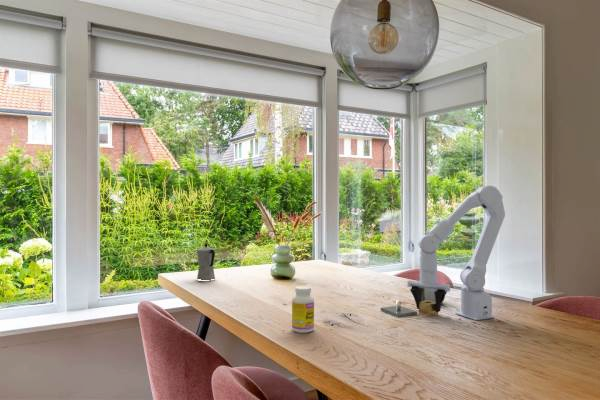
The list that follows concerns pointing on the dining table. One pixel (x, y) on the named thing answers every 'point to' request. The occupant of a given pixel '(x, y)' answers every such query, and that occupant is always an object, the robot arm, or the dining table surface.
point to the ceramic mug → (428, 295)
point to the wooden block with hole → (427, 308)
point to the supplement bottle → (303, 310)
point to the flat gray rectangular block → (398, 310)
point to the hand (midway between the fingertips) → (428, 309)
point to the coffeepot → (206, 263)
